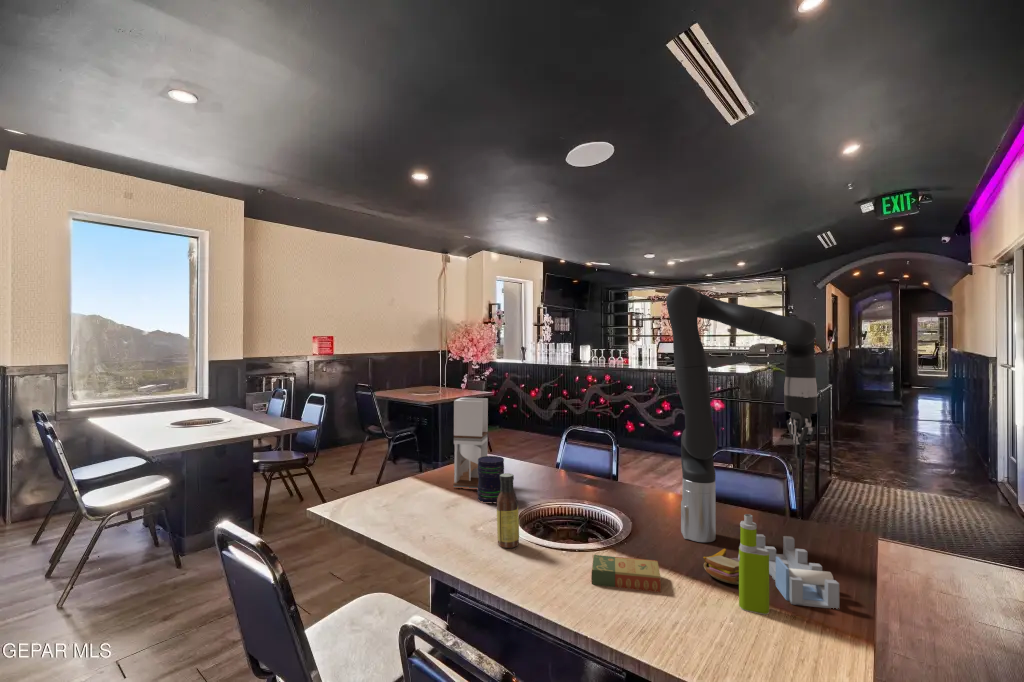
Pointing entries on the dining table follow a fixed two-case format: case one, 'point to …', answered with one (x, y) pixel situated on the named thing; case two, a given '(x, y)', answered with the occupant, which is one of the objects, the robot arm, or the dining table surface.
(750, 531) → the vape
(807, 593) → the white peg rack
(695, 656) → the dining table surface
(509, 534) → the sauce bottle
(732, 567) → the toy sandwich meal
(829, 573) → the cream cylindrical rod
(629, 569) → the carton
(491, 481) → the storage jar
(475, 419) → the white boxy tower
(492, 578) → the dining table surface
